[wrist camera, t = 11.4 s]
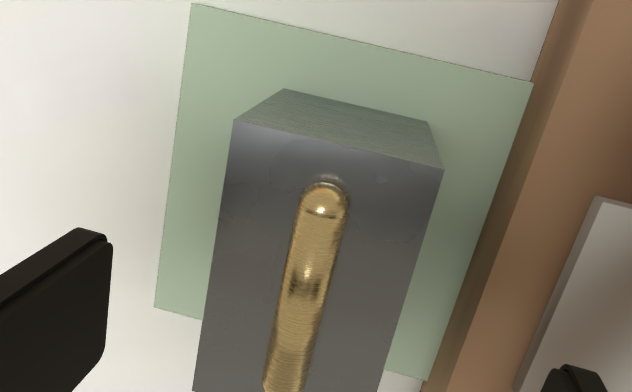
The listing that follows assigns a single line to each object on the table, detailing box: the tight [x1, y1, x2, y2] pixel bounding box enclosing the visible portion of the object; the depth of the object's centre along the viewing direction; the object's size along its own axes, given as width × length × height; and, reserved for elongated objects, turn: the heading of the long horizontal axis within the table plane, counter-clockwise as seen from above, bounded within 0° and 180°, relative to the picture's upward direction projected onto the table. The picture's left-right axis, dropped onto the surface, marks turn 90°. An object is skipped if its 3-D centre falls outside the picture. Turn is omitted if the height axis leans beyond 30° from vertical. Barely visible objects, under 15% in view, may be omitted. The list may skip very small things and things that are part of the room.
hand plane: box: [420, 0, 632, 392], centre depth 15 cm, size 8×20×8 cm, turn 168°
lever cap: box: [192, 88, 445, 392], centre depth 16 cm, size 5×8×7 cm, turn 168°
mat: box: [154, 3, 534, 381], centre depth 19 cm, size 12×12×1 cm
